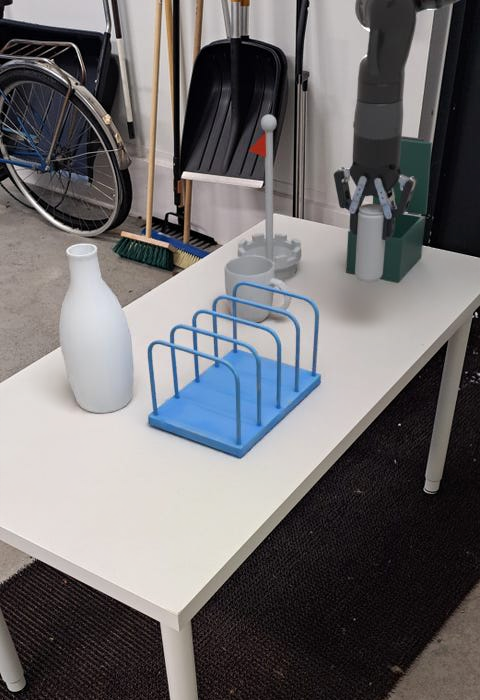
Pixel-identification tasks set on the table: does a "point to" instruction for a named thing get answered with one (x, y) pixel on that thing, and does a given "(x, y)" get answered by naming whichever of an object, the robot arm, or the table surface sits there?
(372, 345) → the table surface
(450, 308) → the table surface
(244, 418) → the file sorter
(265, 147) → the flag stand
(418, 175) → the lid
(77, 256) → the bottle
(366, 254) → the beverage can
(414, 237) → the box
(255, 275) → the mug
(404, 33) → the robot arm
